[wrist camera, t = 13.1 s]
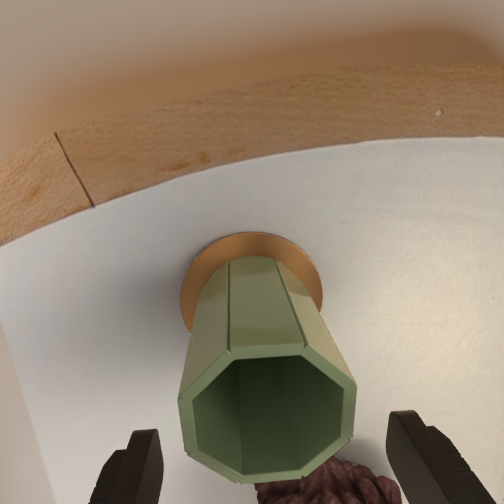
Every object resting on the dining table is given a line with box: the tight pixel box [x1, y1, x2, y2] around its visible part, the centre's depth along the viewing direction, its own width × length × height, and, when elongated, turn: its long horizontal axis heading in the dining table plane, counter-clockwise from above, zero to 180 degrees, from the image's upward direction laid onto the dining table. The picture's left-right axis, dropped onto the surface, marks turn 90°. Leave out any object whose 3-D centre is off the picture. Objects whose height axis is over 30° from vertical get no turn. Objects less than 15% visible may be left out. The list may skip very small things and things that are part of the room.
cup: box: [177, 256, 357, 484], centre depth 16 cm, size 6×6×9 cm
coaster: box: [180, 232, 323, 333], centre depth 20 cm, size 9×9×1 cm
